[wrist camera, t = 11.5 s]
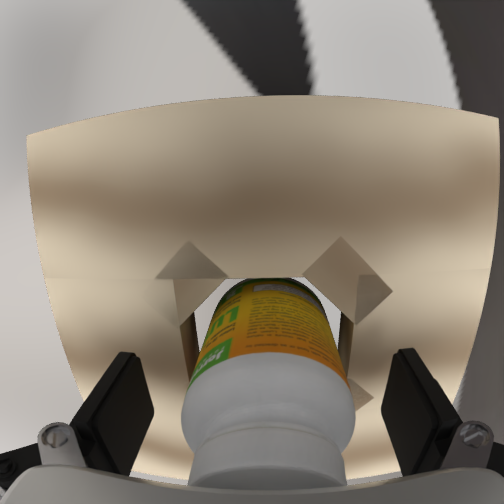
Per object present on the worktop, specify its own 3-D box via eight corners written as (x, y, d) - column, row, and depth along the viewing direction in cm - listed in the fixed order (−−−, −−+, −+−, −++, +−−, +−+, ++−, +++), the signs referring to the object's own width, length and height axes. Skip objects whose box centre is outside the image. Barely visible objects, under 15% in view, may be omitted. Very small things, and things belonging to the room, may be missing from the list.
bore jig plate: (57, 136, 13) (26, 135, 11) (468, 121, 12) (498, 118, 10) (127, 442, 19) (115, 467, 16) (413, 439, 17) (423, 465, 15)
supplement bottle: (230, 256, 14) (170, 414, 5) (342, 290, 15) (420, 455, 5) (202, 352, 16) (149, 519, 7) (302, 379, 16) (319, 545, 7)
